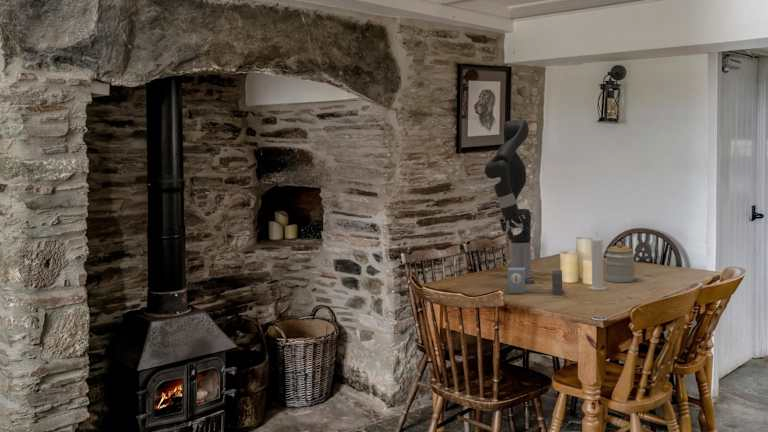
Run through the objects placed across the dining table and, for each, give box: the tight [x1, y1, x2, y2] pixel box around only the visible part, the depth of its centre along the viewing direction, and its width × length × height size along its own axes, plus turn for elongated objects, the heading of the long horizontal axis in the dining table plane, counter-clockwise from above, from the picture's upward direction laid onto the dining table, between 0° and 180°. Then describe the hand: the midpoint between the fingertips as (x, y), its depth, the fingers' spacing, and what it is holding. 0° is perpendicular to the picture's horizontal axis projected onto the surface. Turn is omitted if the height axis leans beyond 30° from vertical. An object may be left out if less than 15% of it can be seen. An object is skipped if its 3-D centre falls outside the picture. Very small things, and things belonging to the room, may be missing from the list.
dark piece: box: [498, 269, 566, 297], centre depth 309 cm, size 12×28×10 cm, turn 76°
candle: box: [588, 231, 607, 291], centre depth 314 cm, size 7×7×25 cm
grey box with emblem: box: [507, 267, 535, 293], centre depth 310 cm, size 6×11×10 cm, turn 76°
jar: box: [604, 241, 636, 283], centre depth 331 cm, size 13×13×18 cm
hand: (519, 238), depth 323 cm, fingers open, 8 cm apart
